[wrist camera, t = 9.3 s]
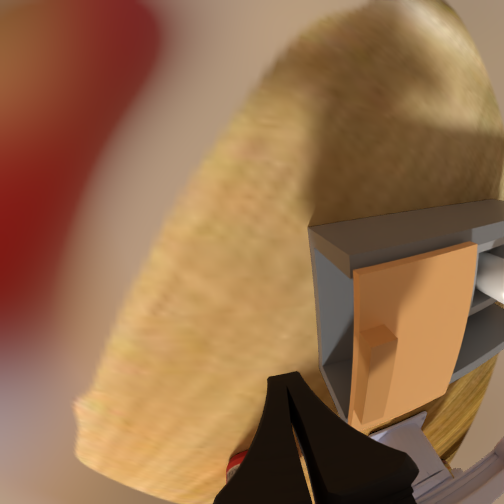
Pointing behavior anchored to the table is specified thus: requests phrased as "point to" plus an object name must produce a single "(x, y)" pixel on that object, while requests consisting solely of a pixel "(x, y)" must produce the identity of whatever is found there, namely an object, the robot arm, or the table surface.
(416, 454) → the robot arm
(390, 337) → the lid
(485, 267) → the white rounded piece
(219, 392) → the table surface
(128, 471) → the table surface
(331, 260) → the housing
